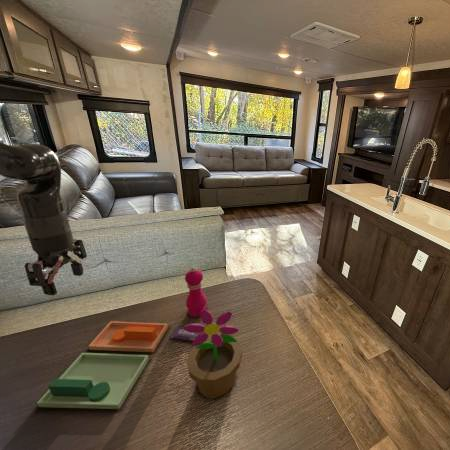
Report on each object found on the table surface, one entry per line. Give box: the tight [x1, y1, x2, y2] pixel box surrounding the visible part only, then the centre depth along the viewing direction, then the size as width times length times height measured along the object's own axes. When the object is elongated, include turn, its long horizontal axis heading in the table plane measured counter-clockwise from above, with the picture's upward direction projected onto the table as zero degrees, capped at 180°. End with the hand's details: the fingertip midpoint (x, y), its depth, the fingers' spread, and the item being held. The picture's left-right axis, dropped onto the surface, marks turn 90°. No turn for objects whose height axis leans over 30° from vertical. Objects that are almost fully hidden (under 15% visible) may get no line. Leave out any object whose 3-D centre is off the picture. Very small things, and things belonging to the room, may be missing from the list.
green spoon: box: [48, 378, 110, 402], centre depth 64 cm, size 13×4×4 cm, turn 92°
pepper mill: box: [184, 266, 207, 318], centre depth 92 cm, size 7×7×20 cm
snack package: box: [170, 326, 205, 342], centre depth 84 cm, size 12×2×5 cm
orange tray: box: [87, 320, 169, 353], centre depth 81 cm, size 19×10×2 cm, turn 92°
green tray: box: [36, 352, 150, 410], centre depth 68 cm, size 19×14×2 cm
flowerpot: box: [183, 308, 243, 399], centre depth 66 cm, size 14×14×30 cm
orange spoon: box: [112, 326, 157, 342], centre depth 81 cm, size 13×4×4 cm, turn 92°
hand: (65, 284), depth 66 cm, fingers open, 8 cm apart
